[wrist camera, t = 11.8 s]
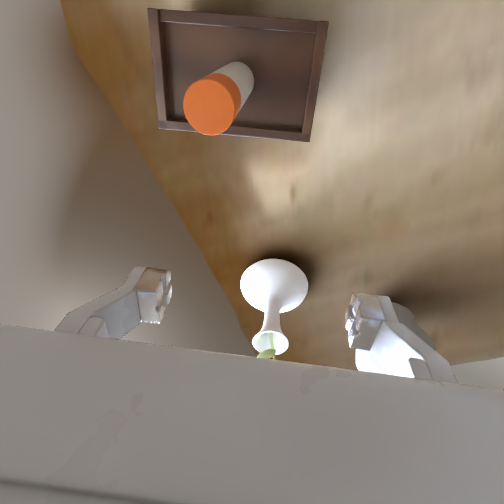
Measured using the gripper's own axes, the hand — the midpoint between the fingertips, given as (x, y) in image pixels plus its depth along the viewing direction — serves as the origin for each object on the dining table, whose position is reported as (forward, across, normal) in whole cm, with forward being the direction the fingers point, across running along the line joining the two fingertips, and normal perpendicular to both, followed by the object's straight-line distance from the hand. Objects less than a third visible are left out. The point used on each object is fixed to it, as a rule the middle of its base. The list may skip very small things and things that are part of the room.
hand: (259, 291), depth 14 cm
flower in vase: (+33, -3, +26) cm, 42 cm away
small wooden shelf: (+33, +4, -6) cm, 33 cm away
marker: (+21, +4, -6) cm, 22 cm away
